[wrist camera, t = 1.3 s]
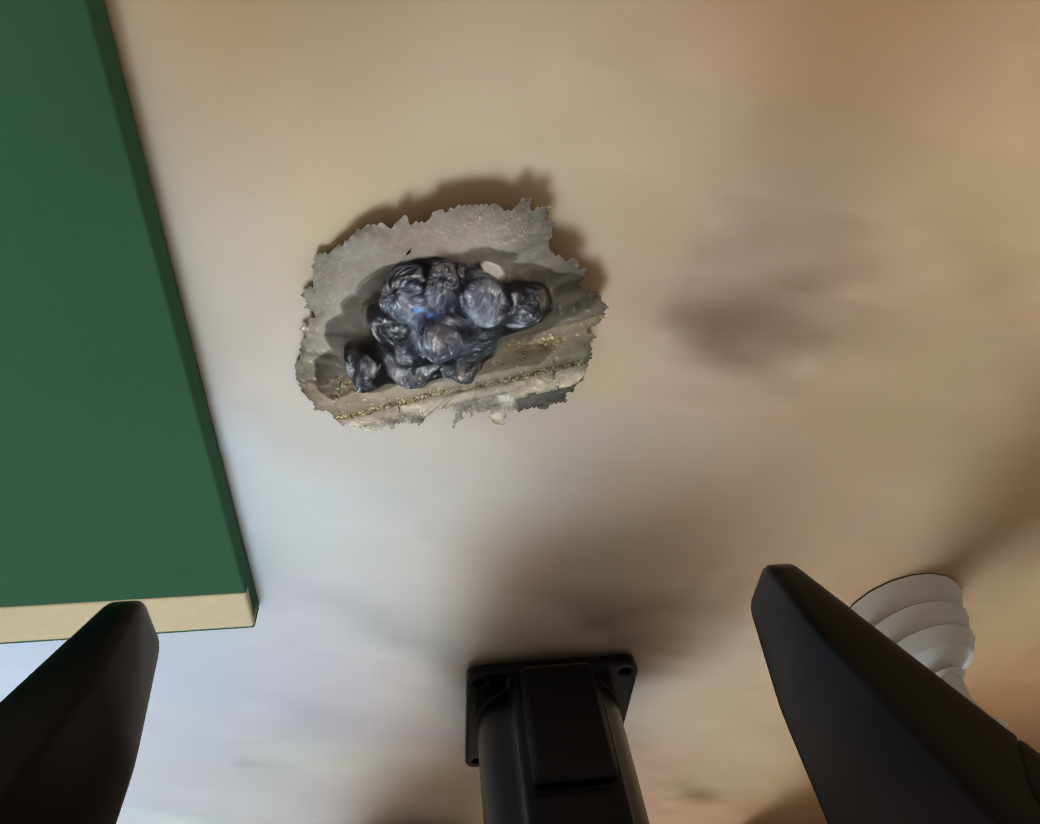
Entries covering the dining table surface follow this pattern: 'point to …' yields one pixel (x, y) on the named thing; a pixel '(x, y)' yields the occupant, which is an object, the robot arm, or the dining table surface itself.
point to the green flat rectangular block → (96, 359)
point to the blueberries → (446, 319)
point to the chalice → (925, 624)
